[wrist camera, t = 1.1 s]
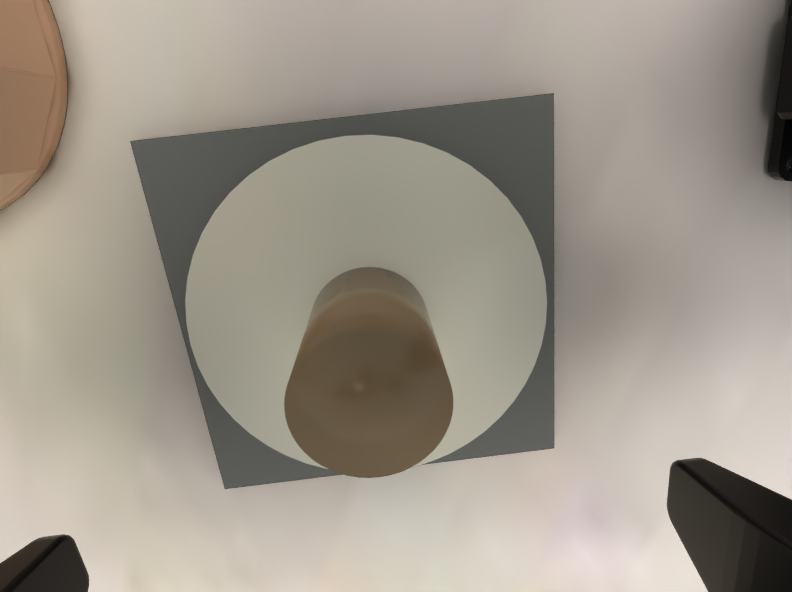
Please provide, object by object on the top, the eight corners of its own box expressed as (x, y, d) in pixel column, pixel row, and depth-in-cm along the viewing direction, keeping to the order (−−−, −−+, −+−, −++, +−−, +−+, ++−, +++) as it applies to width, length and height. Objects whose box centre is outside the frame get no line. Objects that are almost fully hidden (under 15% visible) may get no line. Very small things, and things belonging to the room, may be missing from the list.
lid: (536, 114, 14) (638, 103, 9) (540, 438, 18) (614, 571, 12) (153, 157, 14) (18, 173, 9) (235, 475, 17) (176, 626, 12)
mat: (548, 94, 14) (553, 93, 14) (550, 441, 18) (554, 448, 18) (136, 141, 14) (130, 141, 14) (227, 481, 18) (224, 489, 17)
